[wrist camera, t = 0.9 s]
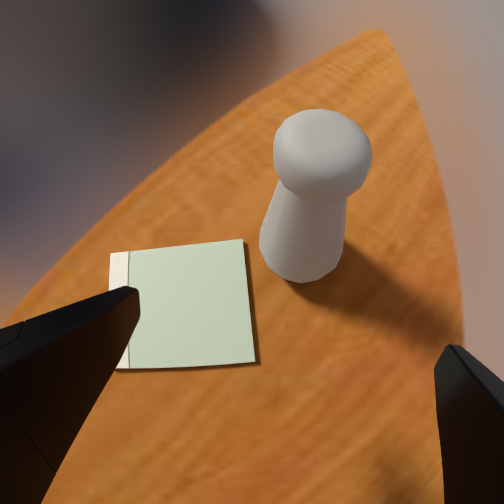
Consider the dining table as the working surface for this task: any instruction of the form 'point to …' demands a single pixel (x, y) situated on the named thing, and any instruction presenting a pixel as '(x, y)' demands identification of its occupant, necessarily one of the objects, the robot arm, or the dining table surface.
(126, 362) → the pad
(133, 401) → the dining table surface
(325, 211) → the salt shaker
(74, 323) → the robot arm
